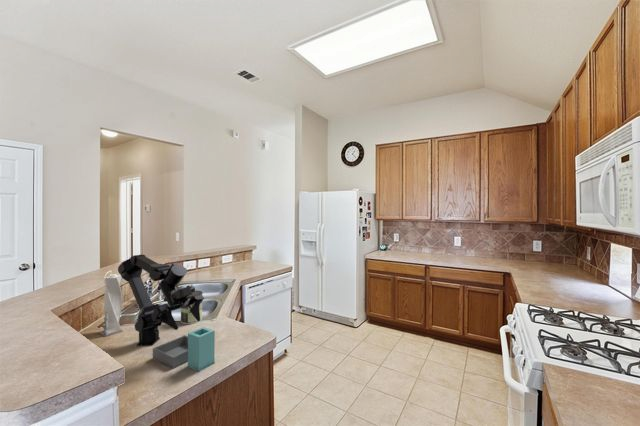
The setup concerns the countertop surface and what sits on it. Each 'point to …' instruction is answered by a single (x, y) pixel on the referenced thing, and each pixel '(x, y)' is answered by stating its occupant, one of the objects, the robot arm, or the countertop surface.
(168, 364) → the gray square tray
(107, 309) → the skyscraper
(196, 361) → the teal square planter
